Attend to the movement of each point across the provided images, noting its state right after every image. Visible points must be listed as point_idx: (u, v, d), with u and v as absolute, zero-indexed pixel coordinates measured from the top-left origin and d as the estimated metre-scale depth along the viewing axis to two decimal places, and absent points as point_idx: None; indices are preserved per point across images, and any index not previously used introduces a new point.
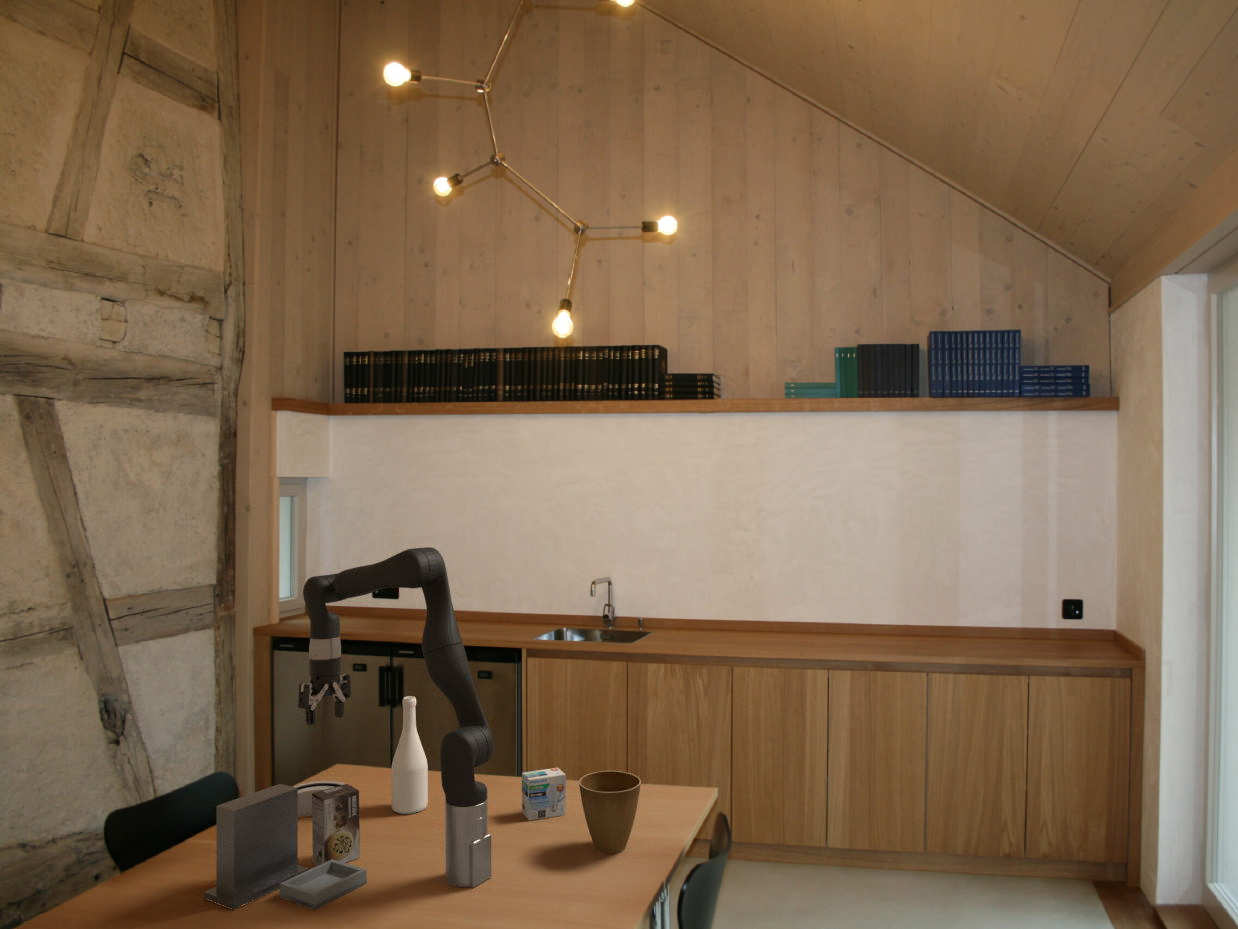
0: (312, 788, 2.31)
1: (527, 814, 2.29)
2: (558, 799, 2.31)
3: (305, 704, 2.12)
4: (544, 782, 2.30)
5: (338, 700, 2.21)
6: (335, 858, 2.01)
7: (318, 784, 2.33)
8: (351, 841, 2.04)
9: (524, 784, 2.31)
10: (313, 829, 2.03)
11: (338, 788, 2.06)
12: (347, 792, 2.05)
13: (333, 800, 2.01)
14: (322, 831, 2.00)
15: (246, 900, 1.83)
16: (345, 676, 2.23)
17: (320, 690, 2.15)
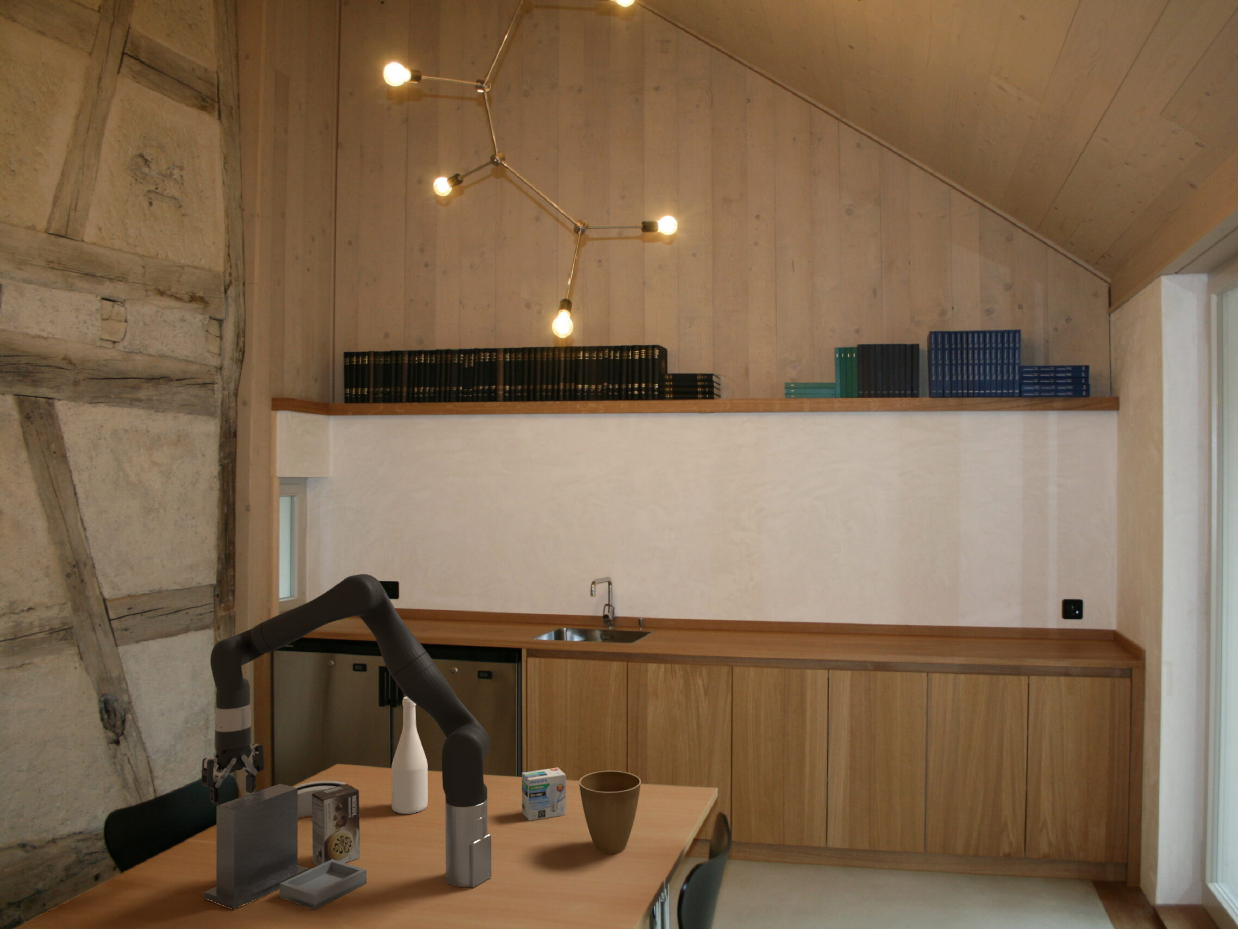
0: (313, 788, 2.31)
1: (527, 814, 2.29)
2: (558, 799, 2.31)
3: (208, 782, 1.92)
4: (544, 782, 2.30)
5: (249, 774, 2.01)
6: (335, 858, 2.01)
7: (319, 784, 2.33)
8: (351, 841, 2.04)
9: (524, 784, 2.31)
10: (313, 829, 2.03)
11: (338, 788, 2.06)
12: (347, 792, 2.05)
13: (333, 800, 2.01)
14: (322, 831, 2.00)
15: (246, 900, 1.83)
16: (257, 747, 2.03)
17: (226, 765, 1.95)
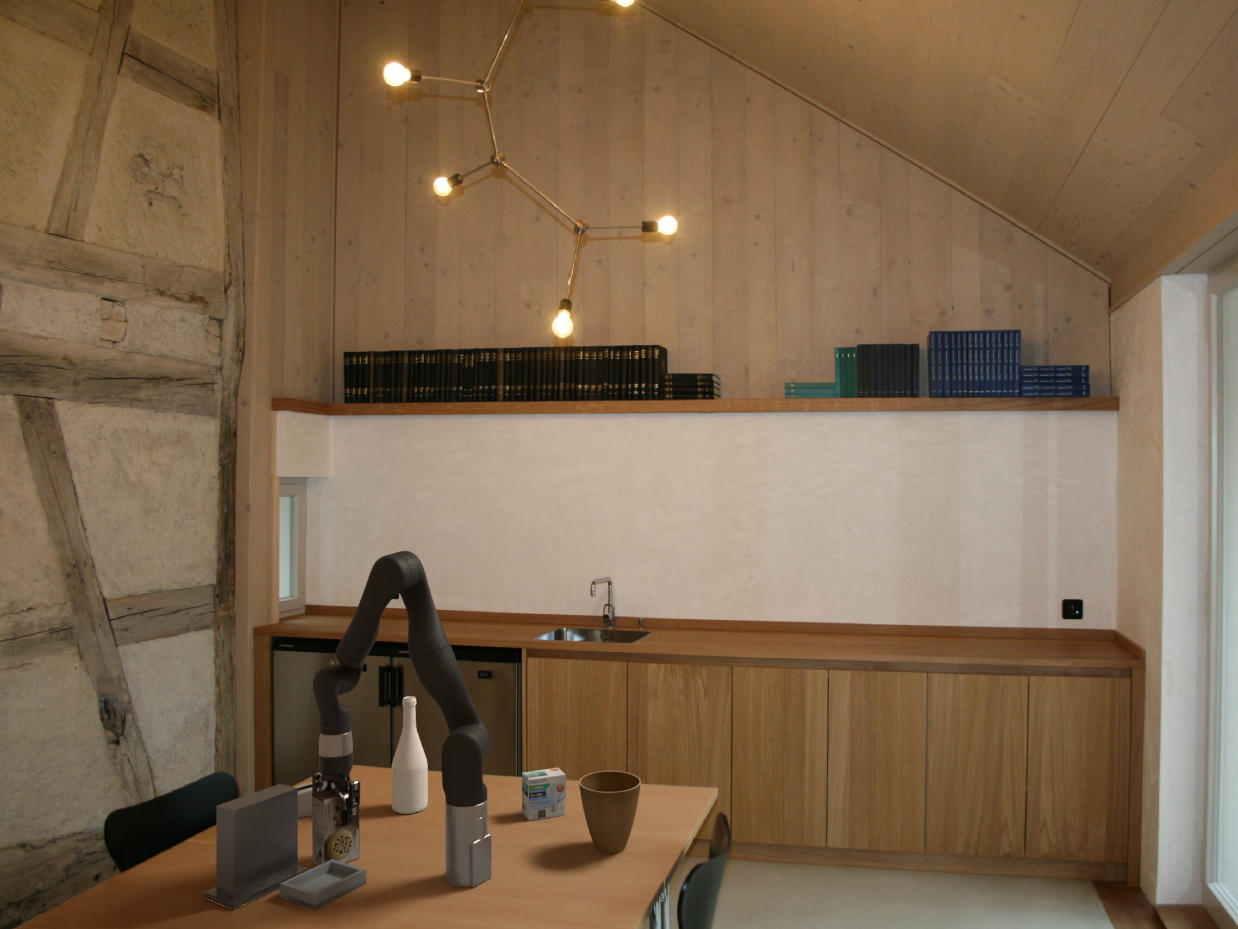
0: None
1: (527, 814, 2.29)
2: (558, 799, 2.31)
3: None
4: (544, 782, 2.30)
5: None
6: (335, 858, 2.01)
7: None
8: (351, 841, 2.04)
9: (524, 784, 2.31)
10: (313, 829, 2.03)
11: None
12: (346, 792, 2.05)
13: (333, 800, 2.01)
14: (321, 831, 2.00)
15: (246, 900, 1.83)
16: None
17: None
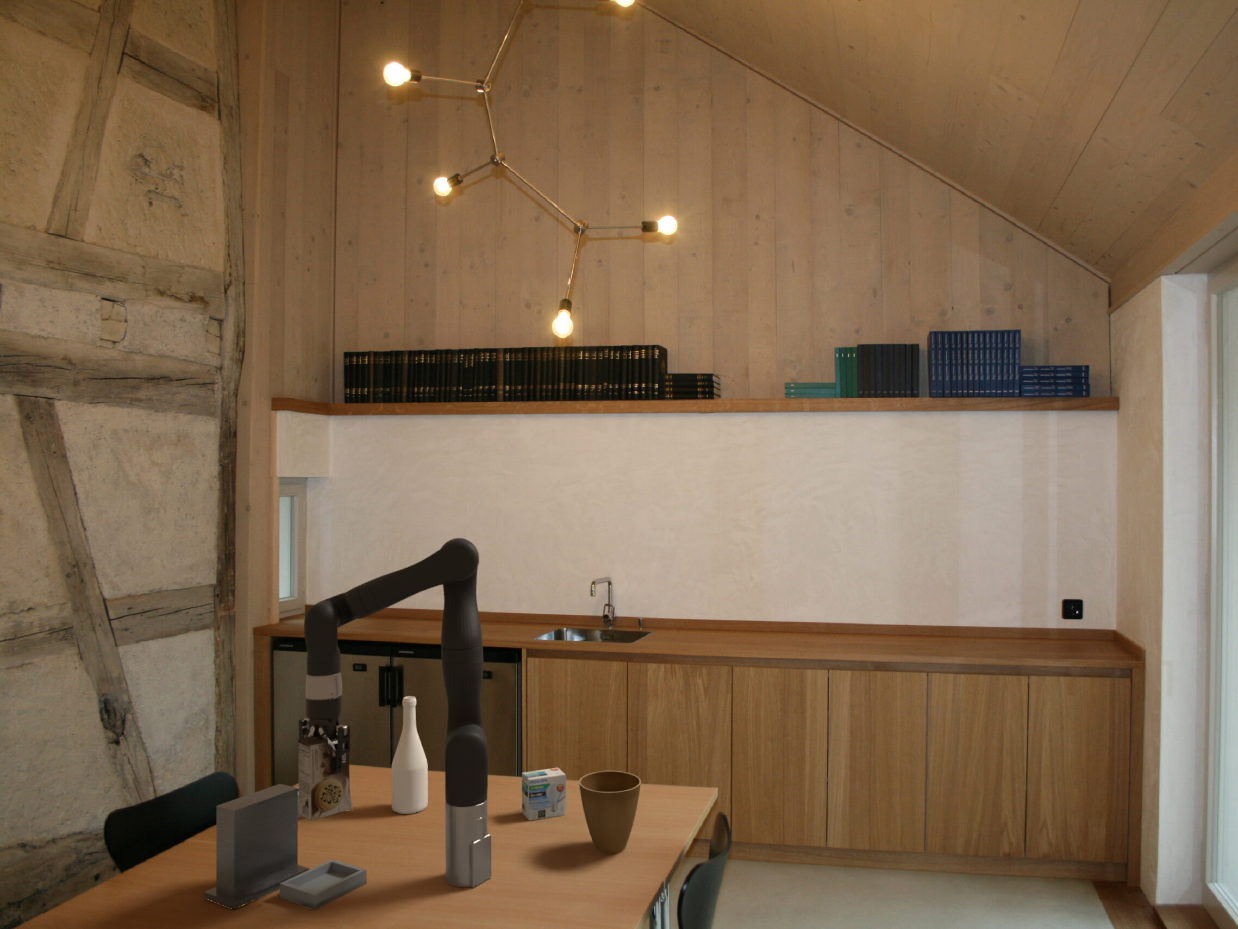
0: None
1: (527, 814, 2.29)
2: (558, 799, 2.31)
3: None
4: (544, 782, 2.30)
5: None
6: (322, 808, 1.86)
7: None
8: (341, 791, 1.89)
9: (524, 784, 2.31)
10: (299, 778, 1.89)
11: None
12: (335, 738, 1.90)
13: (320, 746, 1.86)
14: (308, 779, 1.86)
15: (246, 900, 1.83)
16: None
17: None
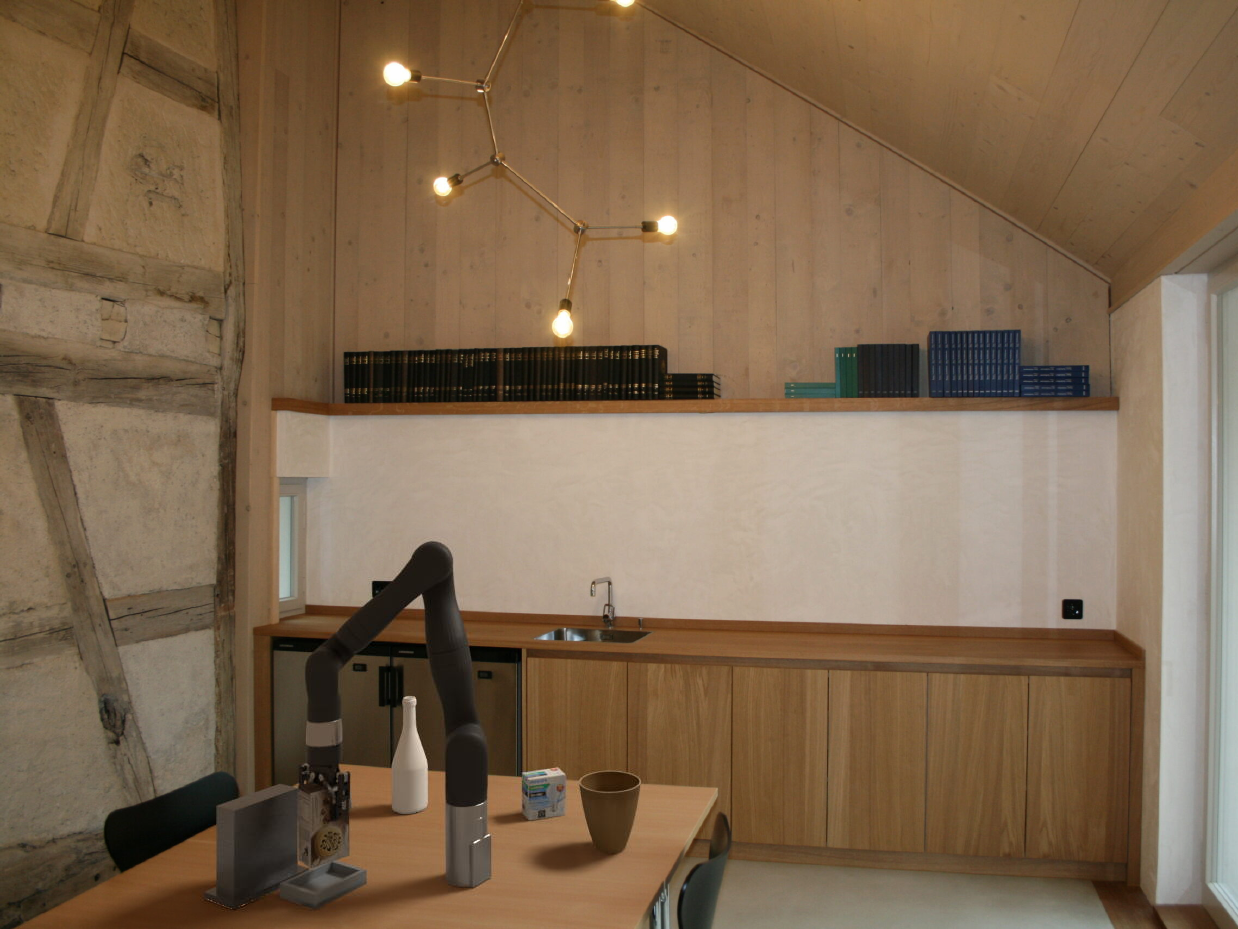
0: None
1: (527, 814, 2.29)
2: (558, 799, 2.31)
3: None
4: (544, 782, 2.30)
5: None
6: (322, 855, 1.86)
7: None
8: (340, 837, 1.89)
9: (524, 784, 2.31)
10: (299, 824, 1.88)
11: None
12: (335, 784, 1.89)
13: (320, 793, 1.86)
14: (308, 826, 1.85)
15: (246, 900, 1.83)
16: None
17: None
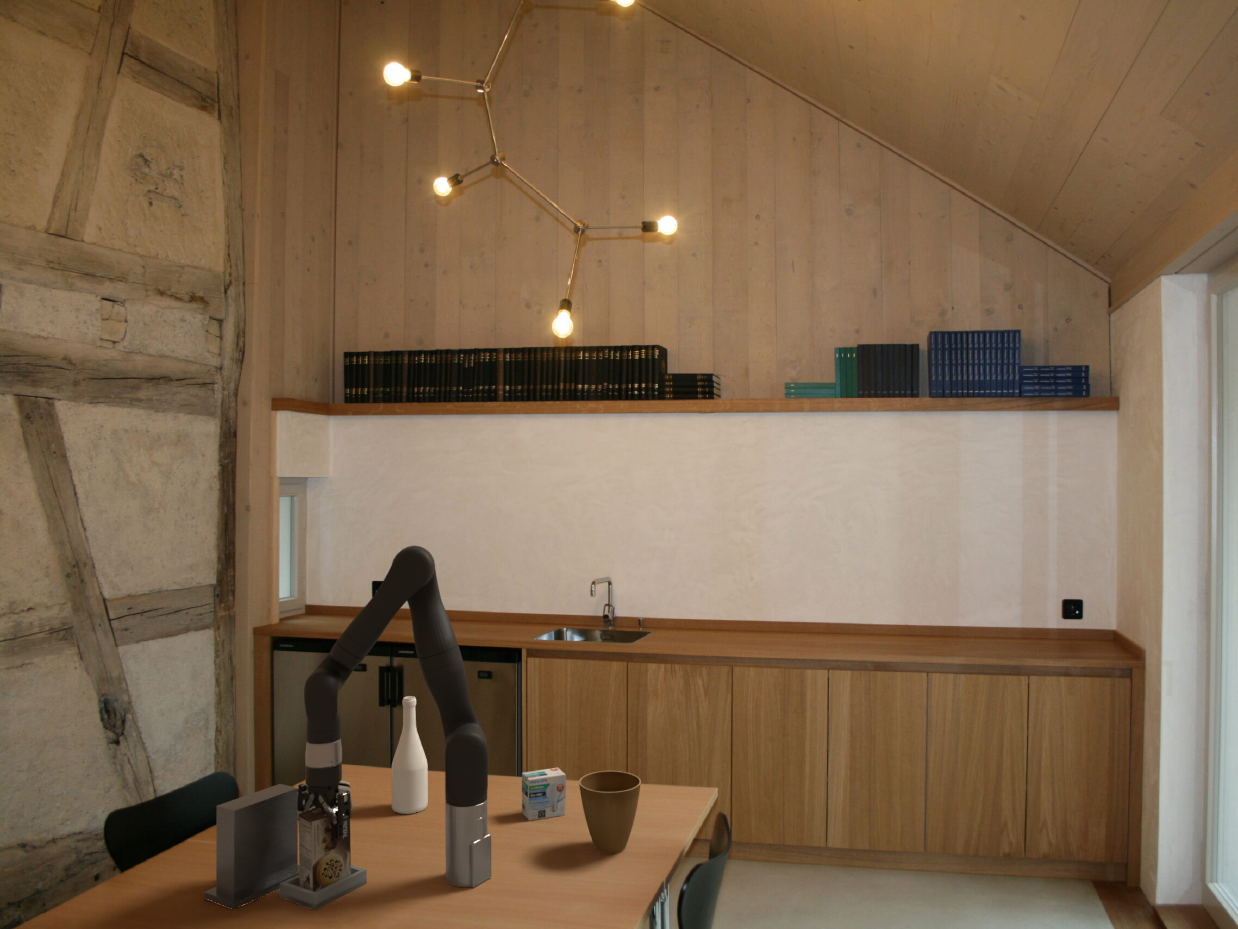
0: None
1: (527, 814, 2.29)
2: (558, 799, 2.31)
3: (298, 805, 1.92)
4: (544, 782, 2.30)
5: None
6: (324, 884, 1.86)
7: None
8: (342, 865, 1.89)
9: (524, 784, 2.31)
10: (300, 852, 1.88)
11: None
12: None
13: (322, 821, 1.86)
14: (310, 855, 1.85)
15: (246, 900, 1.83)
16: None
17: None
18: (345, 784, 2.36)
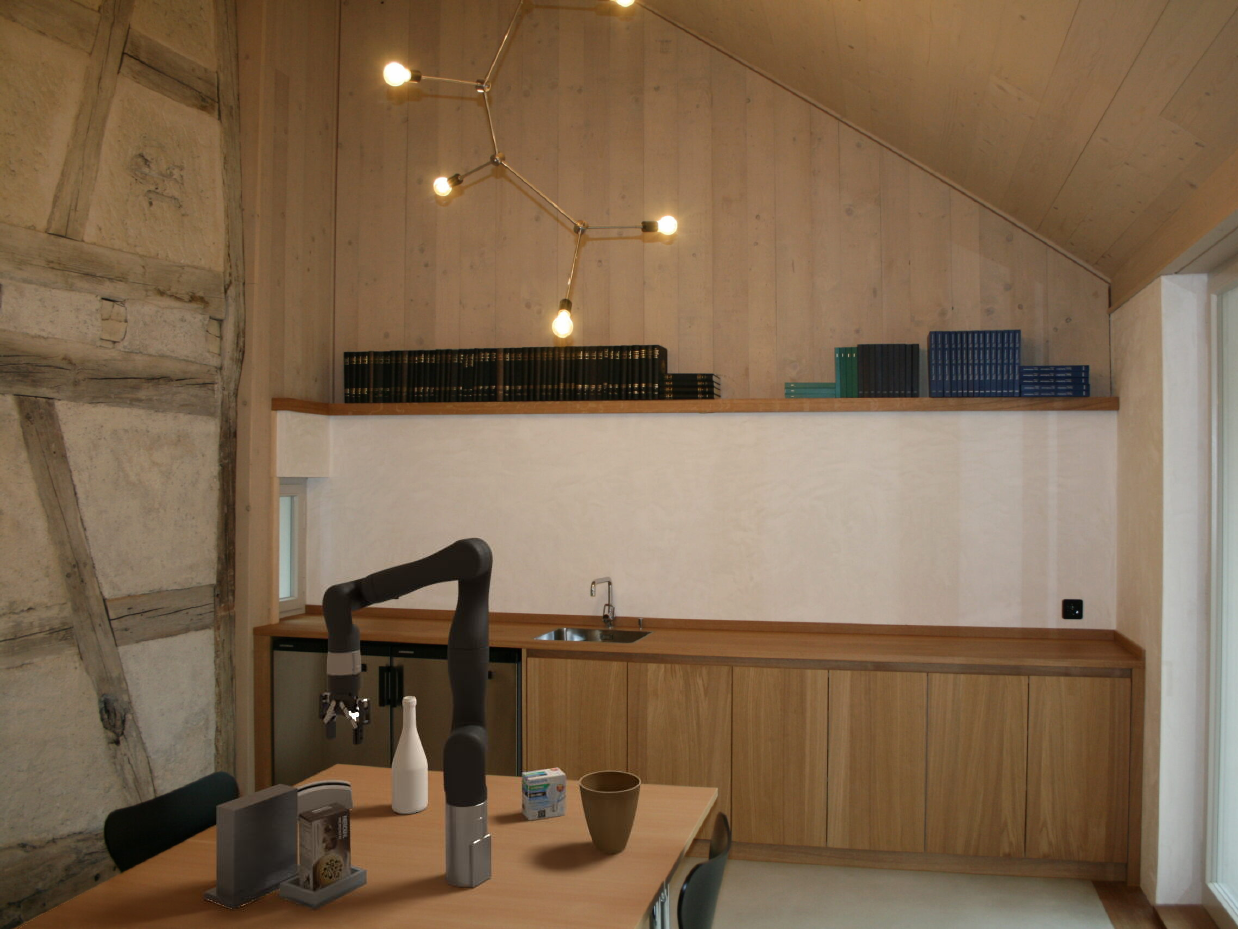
0: (318, 788, 2.32)
1: (527, 814, 2.29)
2: (558, 799, 2.31)
3: (319, 714, 2.03)
4: (544, 782, 2.30)
5: None
6: (324, 884, 1.86)
7: (323, 783, 2.34)
8: (342, 865, 1.89)
9: (524, 784, 2.31)
10: (300, 852, 1.88)
11: (328, 808, 1.91)
12: (337, 811, 1.89)
13: (322, 821, 1.86)
14: (310, 855, 1.85)
15: (246, 900, 1.83)
16: None
17: None
18: (346, 784, 2.36)
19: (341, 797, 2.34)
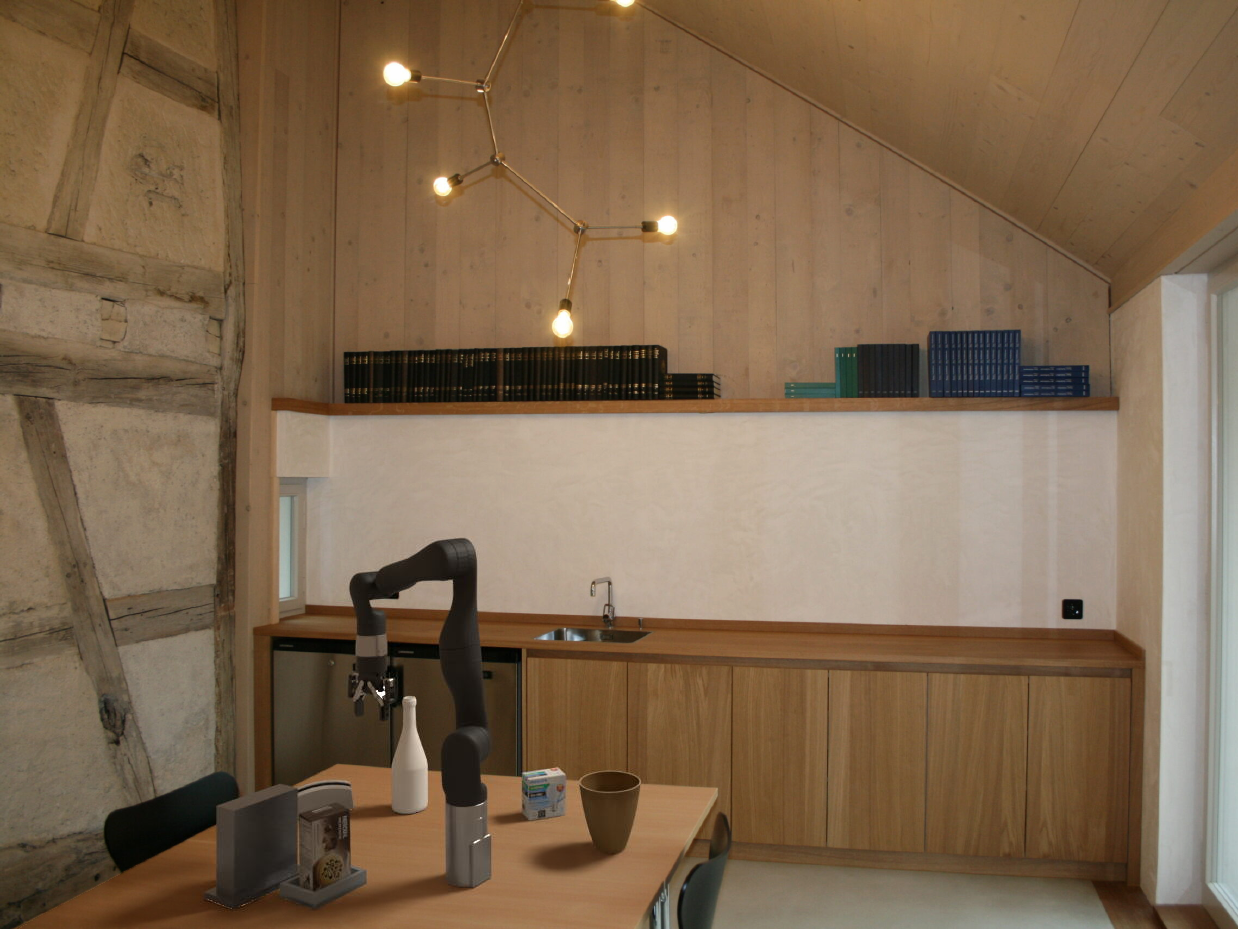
0: (319, 788, 2.32)
1: (527, 814, 2.29)
2: (558, 799, 2.31)
3: (348, 693, 2.19)
4: (544, 782, 2.30)
5: None
6: (324, 884, 1.86)
7: (323, 783, 2.34)
8: (342, 865, 1.89)
9: (524, 784, 2.31)
10: (300, 852, 1.88)
11: (328, 808, 1.91)
12: (337, 811, 1.89)
13: (322, 821, 1.86)
14: (310, 855, 1.85)
15: (246, 900, 1.83)
16: None
17: None
18: (346, 784, 2.36)
19: (342, 797, 2.35)
